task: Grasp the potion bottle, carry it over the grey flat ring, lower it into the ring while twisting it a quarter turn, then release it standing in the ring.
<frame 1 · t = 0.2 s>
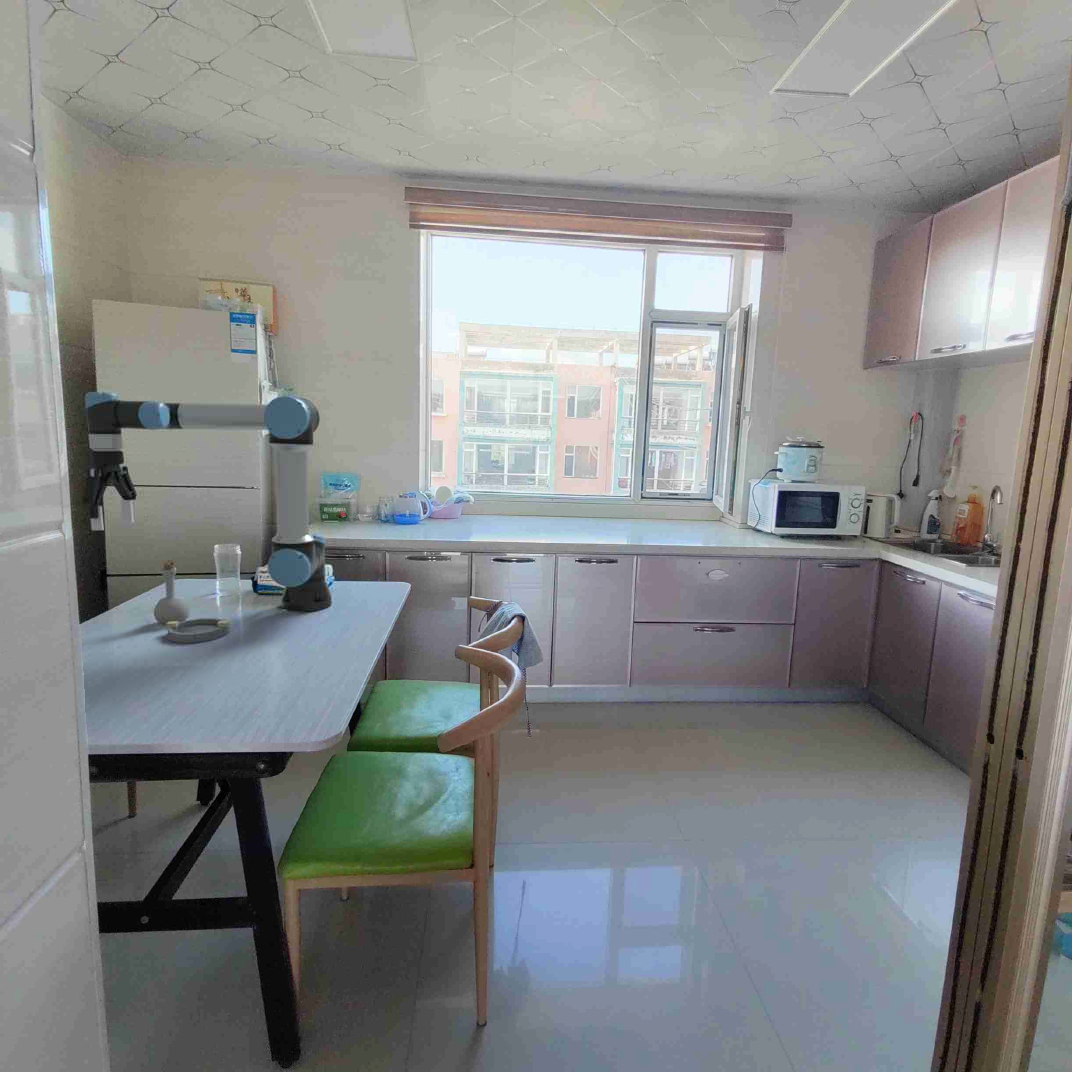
hand: (113, 526, 172), 27 cm above the table, fingers open, 13 cm apart
potion bottle: (172, 623, 175), on the table
grey flat ring: (198, 633, 167), on the table
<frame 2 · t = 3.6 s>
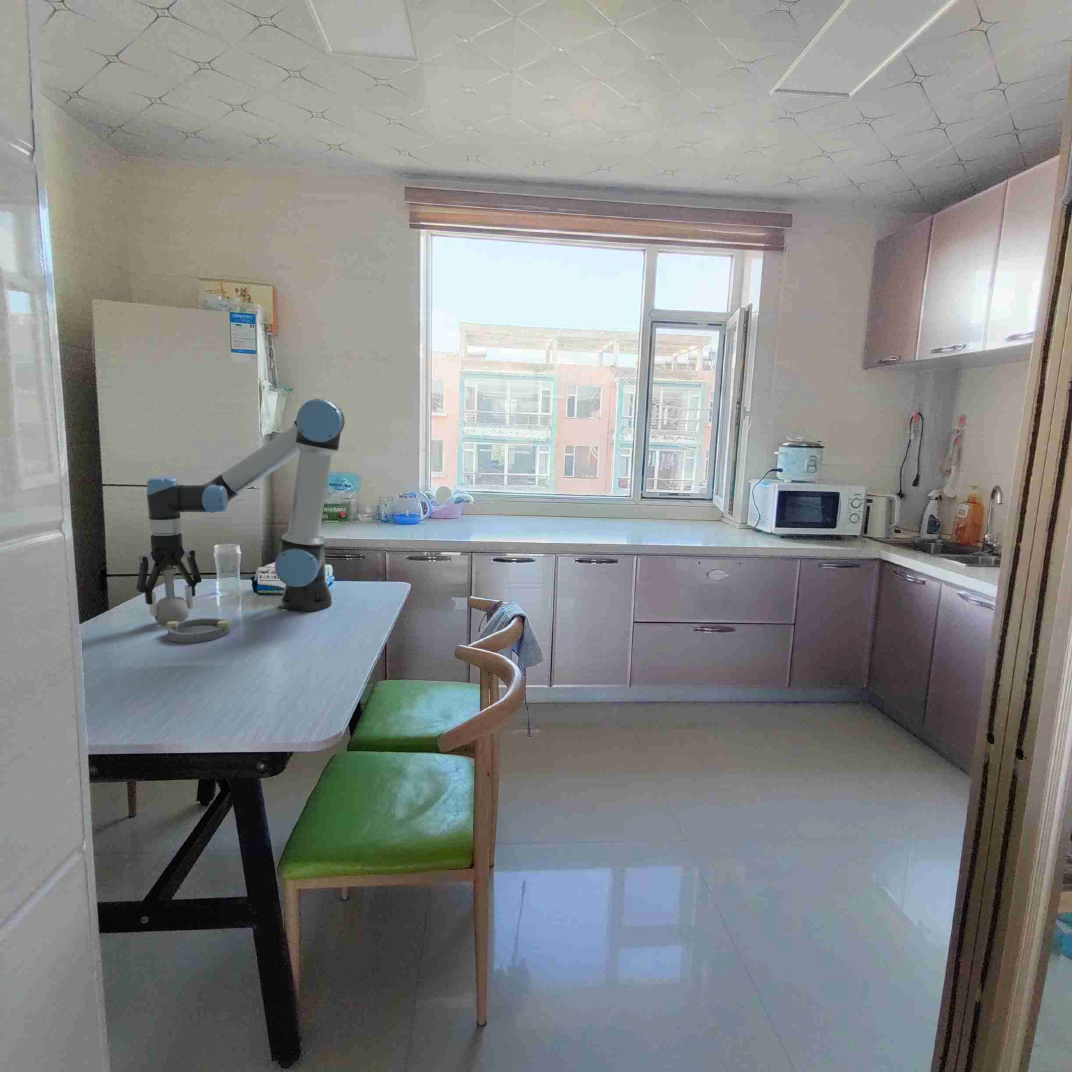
hand: (172, 611, 175), 3 cm above the table, fingers closed on potion bottle, 9 cm apart
potion bottle: (172, 623, 175), on the table, touching gripper
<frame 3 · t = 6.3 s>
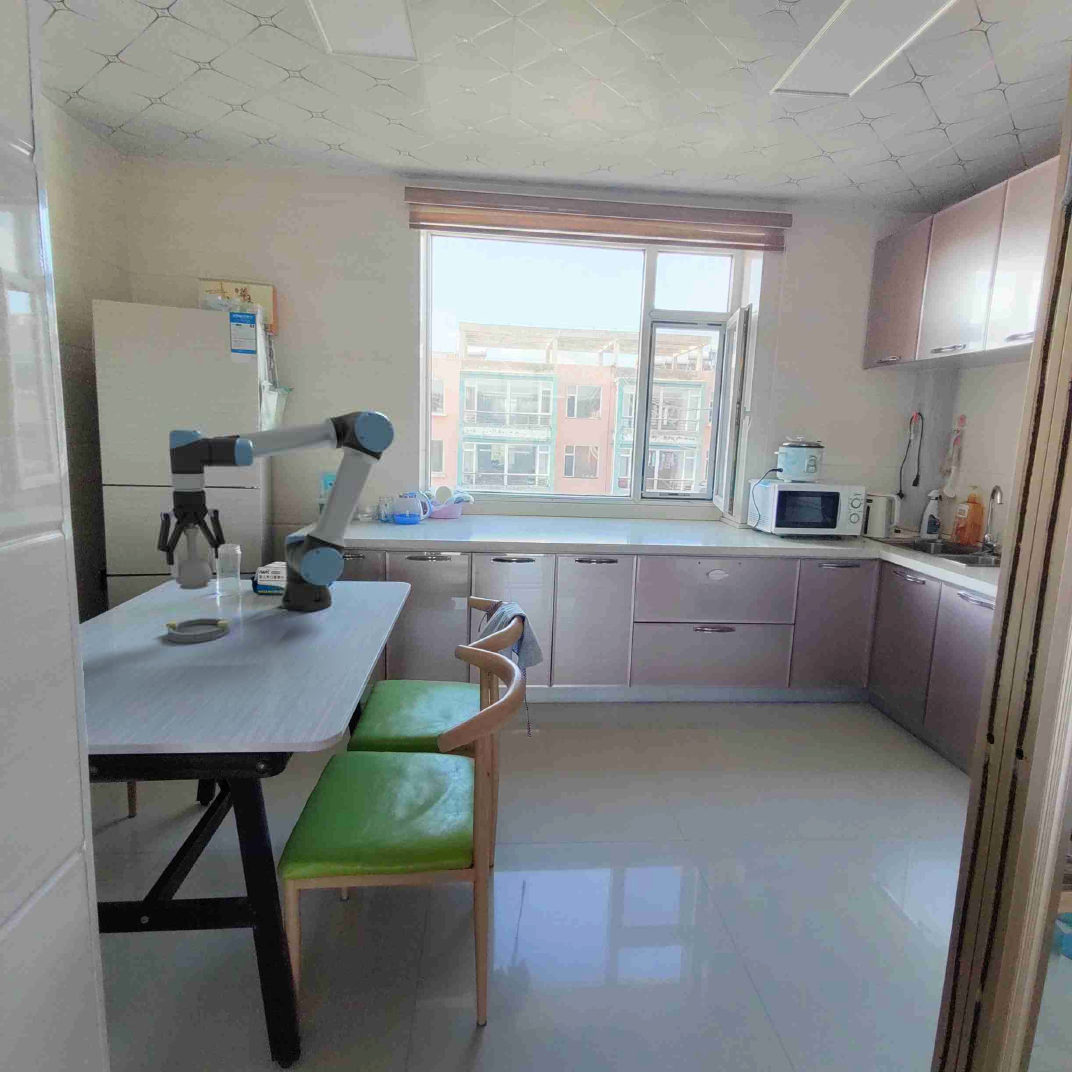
hand: (194, 573, 164), 17 cm above the table, fingers closed on potion bottle, 9 cm apart
potion bottle: (194, 587, 164), point 13 cm above the table, touching gripper
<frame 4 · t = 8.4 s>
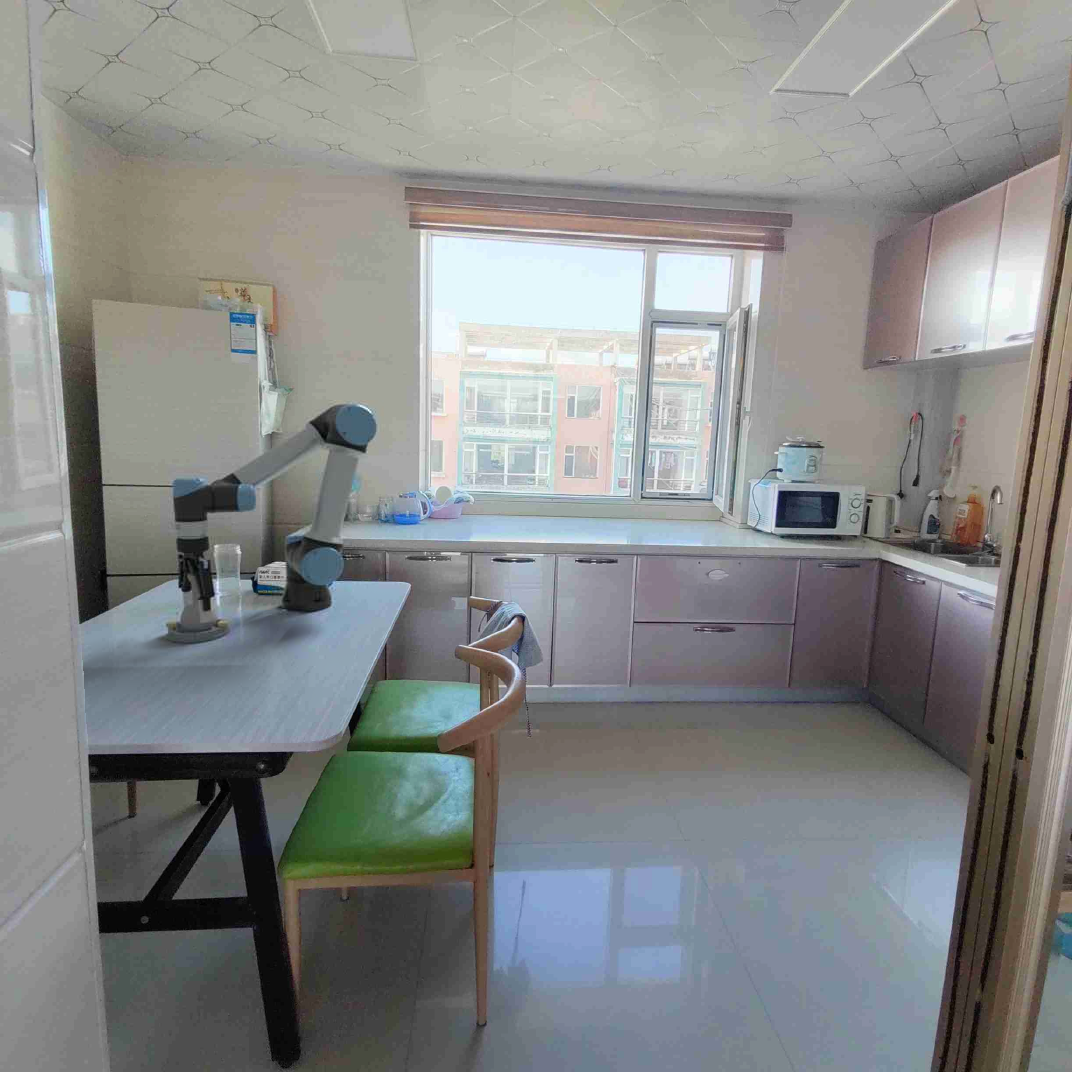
hand: (198, 618, 166), 4 cm above the table, fingers closed on potion bottle, 9 cm apart
potion bottle: (199, 631, 167), point 1 cm above the table, touching gripper
when the fingers open (4 cm above the table, at t = 9.4 s): potion bottle stays where it is, resting on grey flat ring.
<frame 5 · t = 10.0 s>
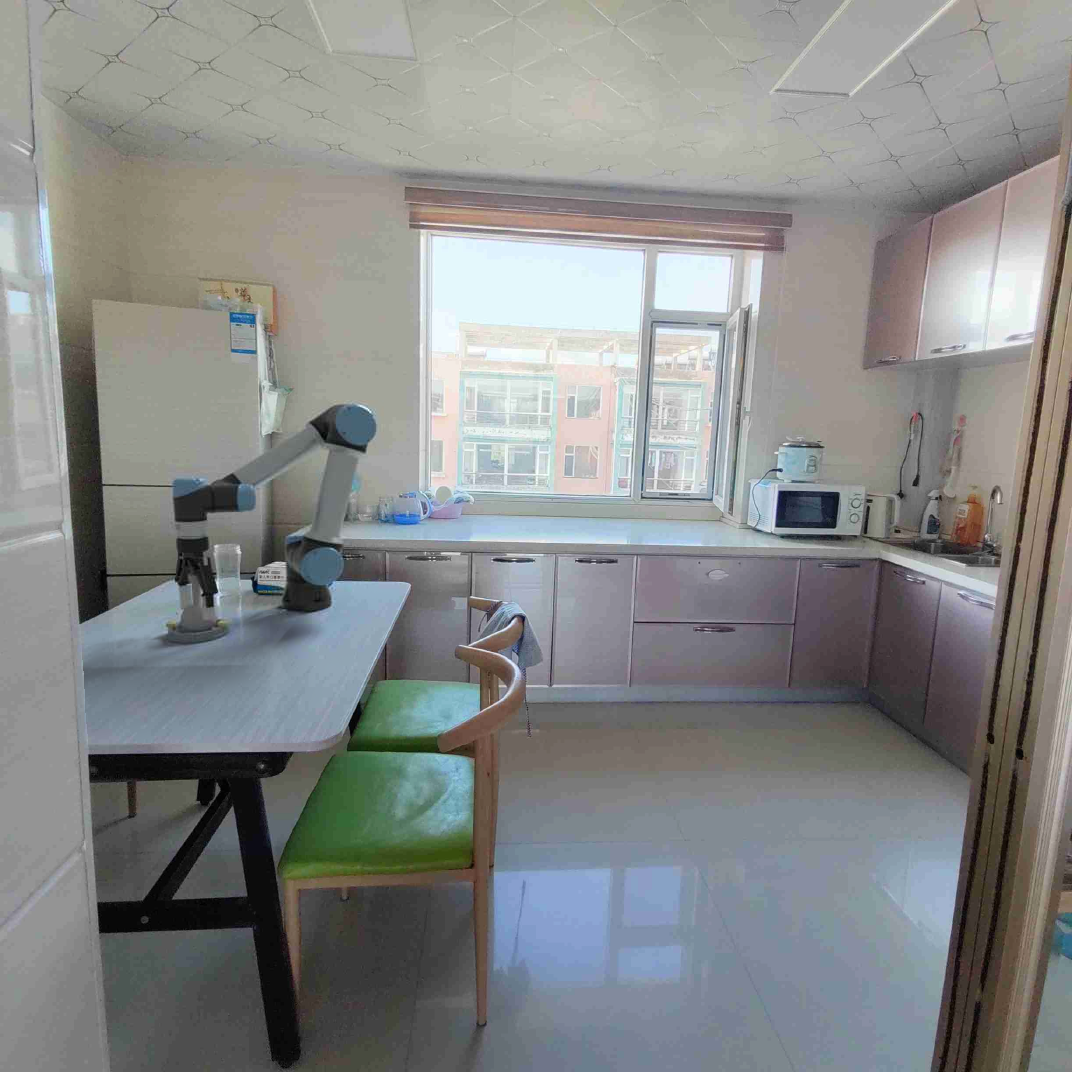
hand: (197, 613, 166), 6 cm above the table, fingers open, 13 cm apart
potion bottle: (199, 631, 167), point 1 cm above the table, touching grey flat ring
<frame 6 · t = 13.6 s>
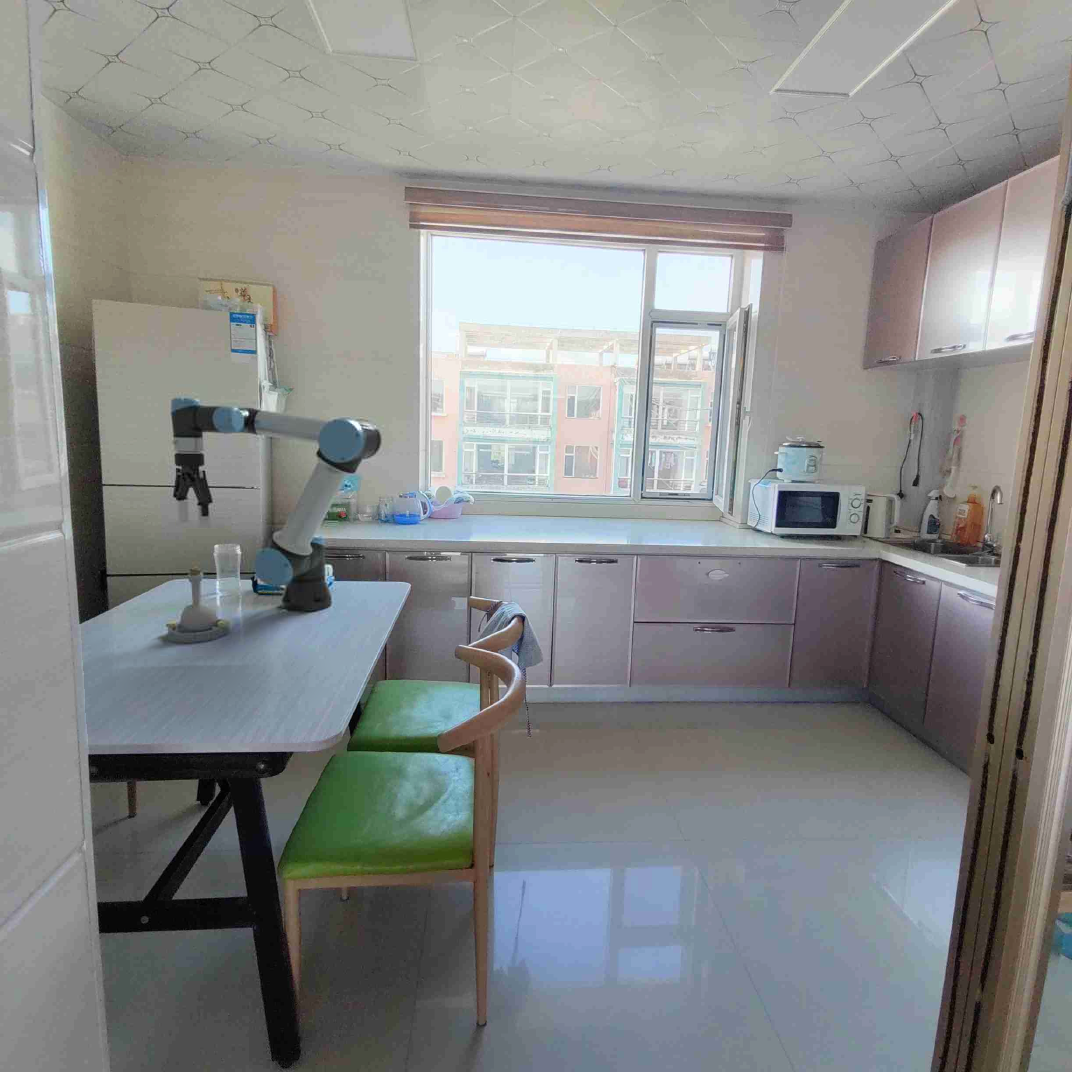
hand: (194, 524, 182), 27 cm above the table, fingers open, 13 cm apart
nothing on the table moved.
at the end: potion bottle 0.2 cm from the grey flat ring (horizontally); potion bottle tilted 0°; the gripper is holding nothing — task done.
